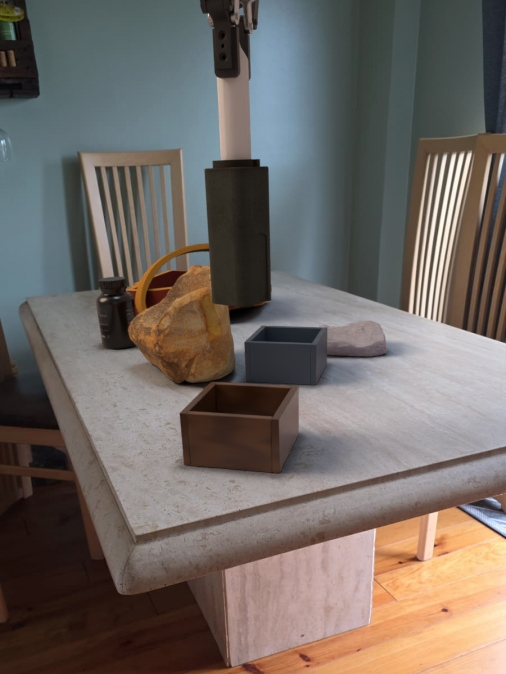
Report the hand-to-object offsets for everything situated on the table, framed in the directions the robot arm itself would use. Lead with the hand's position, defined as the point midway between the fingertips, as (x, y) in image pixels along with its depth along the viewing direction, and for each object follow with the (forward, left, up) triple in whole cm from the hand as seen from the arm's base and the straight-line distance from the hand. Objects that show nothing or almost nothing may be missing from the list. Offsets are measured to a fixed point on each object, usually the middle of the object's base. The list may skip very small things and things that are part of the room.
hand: (233, 79), depth 57 cm
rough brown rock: (+18, -27, -37) cm, 49 cm away
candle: (0, 0, -20) cm, 20 cm away
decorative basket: (+28, -68, -37) cm, 82 cm away
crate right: (+1, -27, -36) cm, 46 cm away
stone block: (-7, -41, -37) cm, 56 cm away
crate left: (0, +2, -36) cm, 36 cm away
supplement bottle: (+35, -39, -37) cm, 64 cm away
